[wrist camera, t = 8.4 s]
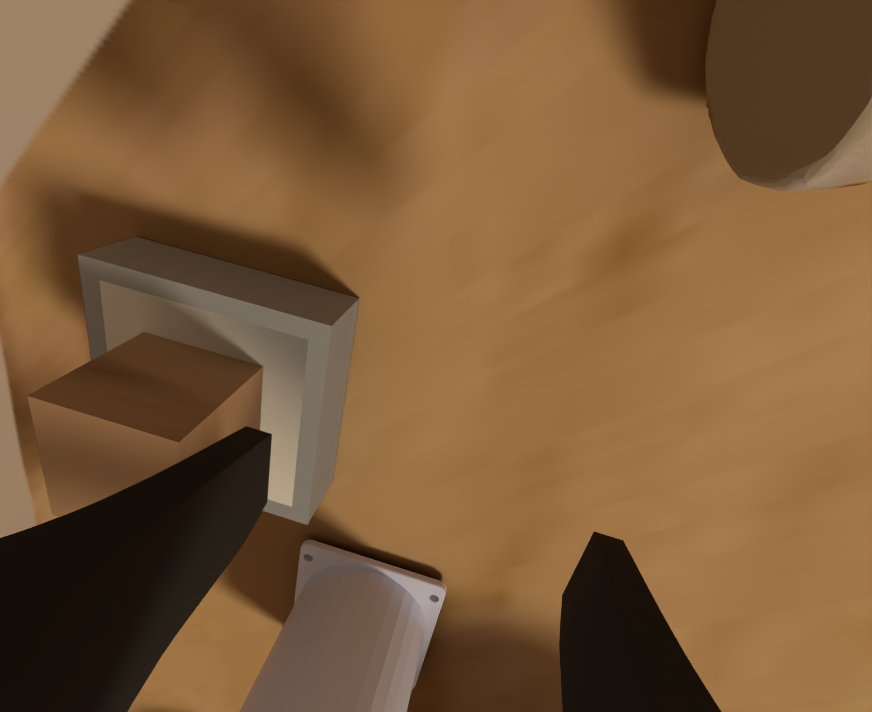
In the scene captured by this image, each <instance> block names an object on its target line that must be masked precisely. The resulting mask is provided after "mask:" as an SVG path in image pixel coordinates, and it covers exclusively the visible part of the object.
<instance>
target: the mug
mask: <svg viewBox="0 0 872 712" xmlns="http://www.w3.org/2000/svg"><path fill="white" fill-rule="evenodd" d="M705 71H706V75H705V77H706V96H707V107H708V109H709V117H710V120H711V124H712V128H713V132H714V135H715V138H716V140H717V142H718V144H719V146H720V148H721V151H722V153H723V155H724V157H725V159H726V160H727V162H728V164H729V165H730V167H731V168H732V170H733V171H734V172H735V173H736V174H737V175H738V176H739V178H740V179H742V180H745V181H747V182H750V183H752V184H755V185H759V186H762V187H766V188H769V189H774V190H779V191H798V190H815V189H830V188H841V187H848V186H855V185H861V184H866V183H870V182H872V0H717V1H716V4H715V8H714V12H713V15H712V20H711V25H710V31H709V37H708V44H707V51H706V59H705Z"/></svg>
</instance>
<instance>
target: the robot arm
mask: <svg viewBox="0 0 872 712" xmlns="http://www.w3.org/2000/svg"><path fill="white" fill-rule="evenodd" d="M271 441H272V434H270V433H267V432H264V431H261V430H257V429H254V428H251V427H247V426H246V427H244V428H242V429H240V430H238V431H236V432H234V433H232V434H231V435H229V436H227V437H225V438H223V439H221V440H219V441H217V442H216V443H214V444H212V445H210V446H208V447H206V448H205V449H203V450H201V451H199V452H197V453H195V454H193V455H192V456H190V457H188V458H186V459H184V460H182V461H180V462H178V463H176V464H174V465H172V466H170V467H168V468H167V469H165V470H163V471H161V472H159V473H157V474H155V475H153V476H151V477H149V478H147V479H145V480H143V481H140V482H138V483H136V484H134V485H132V486H130V487H128V488H126V489H123V490H121V491H119V492H117V493H115V494H113V495H111V496H109V497H106V498H104V499H102V500H100V501H97V502H95V503H93V504H90V505H88V506H86V507H83V508H81V509H78V510H76V511H74V512H71V513H68V514H66V515H63V516H61V517H58V518H56V519H53V520H50V521H48V522H45V523H43V524H40V525H37V526H35V527H32V528H29V529H26V530H23V531H20V532H17V533H14V534H12V535H9V536H5V537H2V538H0V712H127V711H128V710H129V708H130V706H131V705H132V703H133V701H134V700H135V698H136V696H137V695H138V693H139V692H140V690H141V688H142V687H143V685H144V683H145V682H146V680H147V679H148V677H149V675H150V674H151V672H152V670H153V669H154V667H155V666H156V664H157V662H158V661H159V659H160V658H161V656H162V654H163V653H164V652H165V650H166V649H167V647H168V646H169V644H170V643H171V641H172V640H173V639H174V637H175V636H176V634H177V633H178V631H179V630H180V629H181V627H182V626H183V625H184V623H185V622H186V621H187V619H188V618H189V617H190V615H191V614H192V613H193V611H194V610H195V609H196V607H197V606H198V605H199V603H200V602H201V601H202V599H203V598H204V597H205V595H206V594H207V593H208V591H209V590H210V588H211V587H212V586H213V584H214V583H215V582H216V580H217V579H218V578H219V576H220V575H221V574H222V572H223V571H224V570H225V568H226V567H227V566H228V564H229V563H230V561H231V560H232V559H233V557H234V556H235V555H236V553H237V552H238V550H239V549H240V548H241V546H242V545H243V544H244V542H245V540H246V539H247V537H248V535H249V534H250V532H251V530H252V528H253V527H254V525H255V523H256V521H257V520H258V518H259V516H260V514H261V513H262V511H263V509H264V507H265V505H266V504H267V500H268V485H269V471H270V456H271ZM446 590H447V587H446V585H445V584H444V583H443V582H442V581H439V580H436V579H433V578H430V577H427V576H424V575H421V574H418V573H414V572H411V571H408V570H405V569H402V568H399V567H396V566H392V565H389V564H386V563H383V562H380V561H377V560H374V559H371V558H367V557H364V556H361V555H358V554H355V553H352V552H349V551H345V550H342V549H339V548H336V547H333V546H330V545H327V544H324V543H320V542H317V541H314V540H305V541H304V542H303V544H302V546H301V548H300V556H299V565H298V573H297V582H296V591H295V599H294V606H293V608H292V610H291V612H290V614H289V616H288V618H287V620H286V622H285V624H284V626H283V628H282V630H281V632H280V634H279V636H278V638H277V640H276V641H275V643H274V645H273V647H272V649H271V651H270V653H269V655H268V657H267V659H266V661H265V663H264V665H263V667H262V669H261V671H260V673H259V675H258V677H257V679H256V681H255V682H254V684H253V686H252V688H251V690H250V692H249V694H248V696H247V698H246V700H245V702H244V704H243V706H242V708H241V710H240V712H407V708H408V704H409V700H410V695H411V691H412V689H413V688H414V687H415V685H416V682H417V679H418V676H419V673H420V670H421V667H422V664H423V661H424V658H425V655H426V652H427V649H428V646H429V643H430V640H431V637H432V634H433V631H434V628H435V625H436V622H437V619H438V616H439V613H440V610H441V607H442V604H443V601H444V598H445V595H446ZM559 646H560V667H561V686H562V703H563V712H721V711H720V709H719V707H718V706H717V704H716V703H715V701H714V700H713V698H712V697H711V695H710V693H709V692H708V690H707V689H706V687H705V686H704V684H703V682H702V681H701V679H700V678H699V676H698V674H697V673H696V671H695V670H694V668H693V666H692V665H691V663H690V661H689V660H688V658H687V656H686V655H685V653H684V651H683V650H682V648H681V646H680V644H679V643H678V641H677V639H676V637H675V636H674V634H673V632H672V630H671V629H670V627H669V625H668V623H667V622H666V620H665V618H664V616H663V614H662V613H661V611H660V609H659V607H658V605H657V603H656V602H655V600H654V598H653V596H652V594H651V592H650V590H649V589H648V587H647V585H646V583H645V581H644V579H643V577H642V575H641V573H640V572H639V570H638V568H637V566H636V564H635V562H634V560H633V558H632V556H631V555H630V553H629V551H628V549H627V547H626V545H625V543H624V541H623V540H620V539H616V538H613V537H610V536H606V535H603V534H600V533H597V532H594V533H593V535H592V537H591V539H590V541H589V543H588V545H587V547H586V549H585V551H584V553H583V555H582V557H581V559H580V561H579V563H578V565H577V567H576V569H575V571H574V573H573V575H572V577H571V579H570V581H569V583H568V585H567V587H566V589H565V591H564V593H563V595H562V608H561V622H560V643H559Z"/></svg>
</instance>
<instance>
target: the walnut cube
mask: <svg viewBox="0 0 872 712" xmlns="http://www.w3.org/2000/svg"><path fill="white" fill-rule="evenodd" d="M262 381H263V366H260V365H256V364H253V363H249V362H246V361H242V360H239V359H236V358H232V357H229V356H225V355H222V354H218V353H215V352H211V351H208V350H204V349H201V348H197V347H194V346H191V345H187V344H184V343H180V342H177V341H173V340H170V339H166V338H163V337H159V336H156V335H153V334H149V333H146V332H143V333H141V334H139V335H137V336H135V337H134V338H132V339H130V340H128V341H126V342H124V343H123V344H121V345H119V346H117V347H115V348H114V349H112V350H110V351H108V352H106V353H104V354H103V355H101V356H99V357H97V358H95V359H93V360H92V361H90V362H88V363H86V364H84V365H83V366H81V367H79V368H77V369H75V370H73V371H72V372H70V373H68V374H66V375H64V376H63V377H61V378H59V379H57V380H55V381H53V382H52V383H50V384H48V385H46V386H44V387H43V388H41V389H39V390H37V391H35V392H33V393H32V394H30V395H28V396H27V397H28V402H29V407H30V412H31V416H32V421H33V426H34V431H35V435H36V440H37V445H38V450H39V454H40V459H41V464H42V469H43V473H44V478H45V483H46V488H47V492H48V497H49V502H50V507H51V511H52V515H55V516H58V517H61V516H63V515H66V514H68V513H71V512H74V511H76V510H78V509H81V508H83V507H86V506H88V505H90V504H93V503H95V502H97V501H100V500H102V499H104V498H106V497H109V496H111V495H113V494H115V493H117V492H119V491H121V490H123V489H126V488H128V487H130V486H132V485H134V484H136V483H138V482H140V481H143V480H145V479H147V478H149V477H151V476H153V475H155V474H157V473H159V472H161V471H163V470H165V469H167V468H168V467H170V466H172V465H174V464H176V463H178V462H180V461H182V460H184V459H186V458H188V457H190V456H192V455H193V454H195V453H197V452H199V451H201V450H203V449H205V448H206V447H208V446H210V445H212V444H214V443H216V442H217V441H219V440H221V439H223V438H225V437H227V436H229V435H231V434H232V433H234V432H236V431H238V430H240V429H242V428H244V427H246V426H247V427H251V428H254V429H257V430H260V422H261V402H262Z"/></svg>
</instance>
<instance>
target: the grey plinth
mask: <svg viewBox="0 0 872 712" xmlns="http://www.w3.org/2000/svg"><path fill="white" fill-rule="evenodd" d="M77 255H78V262H79V270H80V278H81V285H82V293H83V301H84V308H85V316H86V324H87V331H88V339H89V347H90V354H91V361H92V360H93V359H95V358H97V357H99V356H101V355H103V354H104V353H106V352H108V351H110V350H112V349H114V348H115V347H117V346H119V345H121V344H123V343H124V342H126V341H128V340H130V339H132V338H134V337H135V336H137V335H139V334H141V333H143V332H146V333H149V334H153V335H156V336H159V337H163V338H166V339H170V340H173V341H177V342H180V343H184V344H187V345H191V346H194V347H197V348H201V349H204V350H208V351H211V352H215V353H218V354H222V355H225V356H229V357H232V358H236V359H239V360H242V361H246V362H249V363H253V364H256V365H260V366H263V381H262V402H261V422H260V430H261V431H264V432H267V433H270V434H272V441H271V456H270V471H269V485H268V500H267V504H266V505H265V507H264V509H263V511H265V512H268V513H271V514H274V515H277V516H280V517H283V518H287V519H290V520H293V521H296V522H299V523H302V524H306V525H308V523H309V521H310V520H311V518H312V516H313V514H314V513H315V511H316V509H317V508H318V506H319V504H320V502H321V501H322V499H323V497H324V495H325V494H326V492H327V490H328V489H329V487H330V485H331V483H332V482H333V475H334V468H335V461H336V455H337V448H338V441H339V434H340V427H341V421H342V414H343V407H344V400H345V393H346V387H347V380H348V373H349V366H350V359H351V353H352V346H353V339H354V332H355V325H356V318H357V312H358V305H359V298H356V297H353V296H349V295H346V294H342V293H338V292H335V291H331V290H327V289H324V288H320V287H317V286H313V285H309V284H306V283H302V282H299V281H295V280H291V279H288V278H284V277H280V276H277V275H273V274H270V273H266V272H262V271H259V270H255V269H252V268H248V267H244V266H241V265H237V264H233V263H230V262H226V261H223V260H219V259H215V258H212V257H208V256H204V255H201V254H197V253H194V252H190V251H186V250H183V249H179V248H176V247H172V246H168V245H165V244H161V243H157V242H154V241H150V240H147V239H143V238H139V237H136V236H135V237H132V238H129V239H126V240H122V241H119V242H116V243H113V244H109V245H106V246H103V247H100V248H96V249H93V250H90V251H87V252H83V253H80V254H77Z"/></svg>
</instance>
